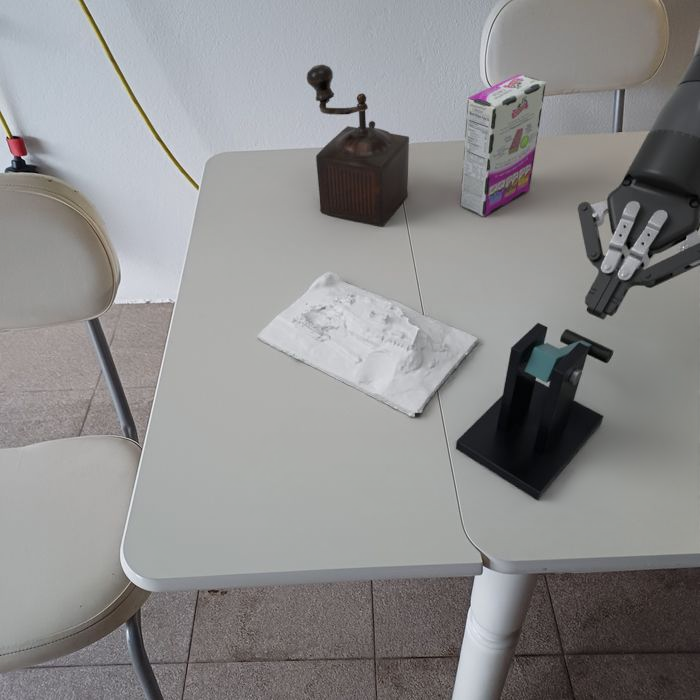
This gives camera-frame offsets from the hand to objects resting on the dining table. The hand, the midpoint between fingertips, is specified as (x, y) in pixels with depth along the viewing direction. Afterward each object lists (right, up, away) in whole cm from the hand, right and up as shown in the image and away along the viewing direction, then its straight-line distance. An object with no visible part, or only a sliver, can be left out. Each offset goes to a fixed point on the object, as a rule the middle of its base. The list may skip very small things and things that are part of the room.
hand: (595, 315), depth 61 cm
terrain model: (-21, -2, +13) cm, 25 cm away
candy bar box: (-2, +19, +36) cm, 41 cm away
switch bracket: (-6, -12, +2) cm, 13 cm away
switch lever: (-3, -5, -1) cm, 6 cm away
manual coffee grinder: (-23, +19, +37) cm, 48 cm away
